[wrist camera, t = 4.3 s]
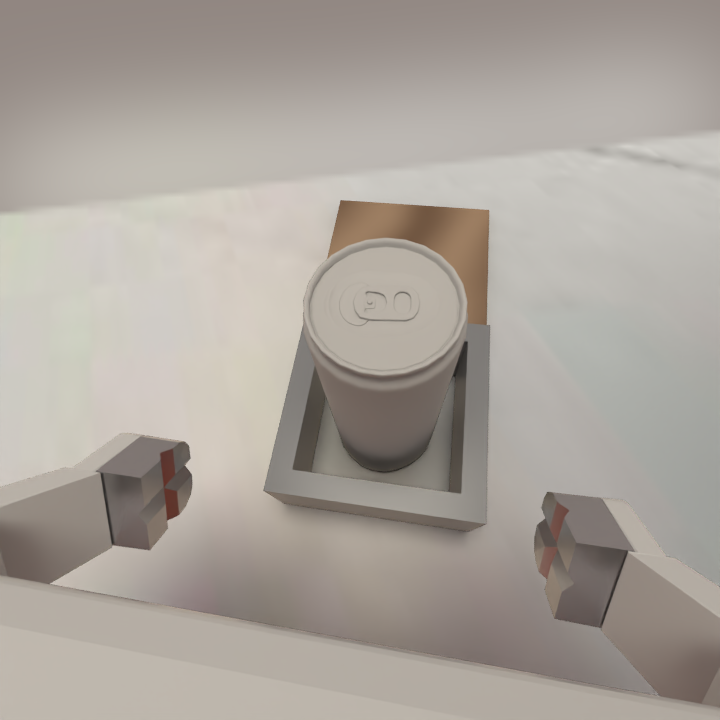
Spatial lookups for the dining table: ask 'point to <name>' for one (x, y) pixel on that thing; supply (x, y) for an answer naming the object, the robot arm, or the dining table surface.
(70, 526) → the robot arm
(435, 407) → the beverage can
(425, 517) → the can holder
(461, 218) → the coaster
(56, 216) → the dining table surface
